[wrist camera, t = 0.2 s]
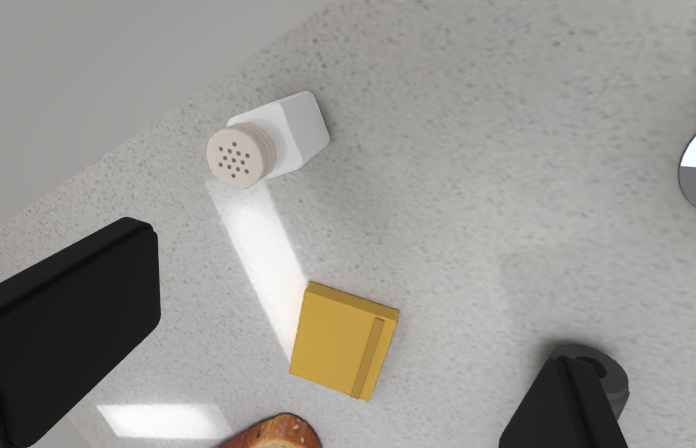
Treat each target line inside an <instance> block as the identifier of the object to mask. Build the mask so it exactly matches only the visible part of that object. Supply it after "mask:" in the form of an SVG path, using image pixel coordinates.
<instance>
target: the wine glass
mask: <svg viewBox="0 0 696 448" xmlns="http://www.w3.org/2000/svg"><path fill="white" fill-rule="evenodd" d="M678 176H679V184H680V187H681V190H682V192H683V194H684V195H685V197H686V198H687V200H688V201H689V202H690V203H691V204H692V205H694V206H695V207H696V135H695V136H694V137H693V139H692V140H691V141H690V143H689V144H688V146H687V147H686V149H685V151H684V153H683V155H682V158H681V161H680V165H679V173H678Z"/></svg>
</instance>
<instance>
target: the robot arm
mask: <svg viewBox="0 0 696 448" xmlns="http://www.w3.org/2000/svg"><path fill="white" fill-rule="evenodd" d="M160 317H161V307H160V283H159V259H158V237H157V234H156V232H154V231H153V227H152V226H151V225H150V224H149V223H146V222H143V221H140V220H136V219H133V218H130V217H124V218H121V219H119V220H117V221H115V222H113V223H111V224H110V225H108V226H106V227H104V228H102V229H100V230H98V231H96V232H95V233H93V234H91V235H89V236H87V237H85V238H83V239H81V240H80V241H78V242H76V243H74V244H72V245H70V246H68V247H66V248H65V249H63V250H61V251H59V252H57V253H55V254H53V255H51V256H50V257H48V258H46V259H44V260H42V261H40V262H38V263H36V264H35V265H33V266H31V267H29V268H27V269H25V270H23V271H22V272H20V273H18V274H16V275H14V276H12V277H10V278H8V279H7V280H5V281H3V282H1V283H0V448H27V447H30V446H31V445H33V444H34V443H36V442H37V441H38V440H39V439H41V438H42V437H43V436H44V435H45V434H46V433H47V432H48V431H49V430H50V429H51V428H52V427H53V426H54V425H55V424H56V423H57V422H58V421H59V420H60V419H61V418H62V417H63V416H64V415H66V414H67V413H68V412H69V411H70V410H71V409H72V408H73V407H74V406H75V405H76V404H77V403H78V402H79V401H80V400H81V399H82V398H83V397H84V396H85V395H86V394H87V393H88V392H90V391H91V390H92V389H93V388H94V387H95V386H96V385H97V384H98V383H99V382H100V381H101V380H102V379H103V378H104V377H105V376H106V375H107V374H108V373H109V372H110V371H111V370H112V369H113V368H115V367H116V366H117V365H118V364H119V363H120V362H121V361H122V360H123V359H124V358H125V357H126V356H127V355H128V354H129V353H130V352H131V351H132V350H133V349H134V348H135V347H136V346H137V345H139V344H140V343H141V342H142V341H143V340H144V339H145V338H146V337H147V336H148V335H149V334H150V333H151V332H152V331H153V330H154V329H155V328H156V326H157V325H158V323H159V321H160ZM499 448H628V446H627V444H626V441H625V439H624V437H623V434H622V432H621V429H620V427H619V425H618V422H617V420H616V418H615V415H614V413H613V410H612V408H611V406H610V403H609V401H608V398H607V396H606V394H605V391H604V389H603V387H602V384H601V382H600V379H599V377H598V375H597V372H596V370H595V368H594V367H593V365H591V364H590V363H587V362H584V361H581V360H577V359H574V358H571V357H568V356H565V355H560V356H558V357H557V358H556V360H555V359H548V360H547V361H546V363H545V364H544V366H543V367H542V369H541V371H540V372H539V374H538V376H537V377H536V379H535V381H534V382H533V384H532V386H531V387H530V389H529V391H528V392H527V394H526V395H525V397H524V399H523V400H522V402H521V404H520V405H519V407H518V409H517V410H516V412H515V414H514V415H513V417H512V418H511V420H510V422H509V423H508V425H507V427H506V428H505V430H504V432H503V433H502V435H501V438H500V441H499Z"/></svg>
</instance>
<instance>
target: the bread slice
mask: <svg viewBox="0 0 696 448" xmlns="http://www.w3.org/2000/svg"><path fill="white" fill-rule="evenodd" d="M220 448H322V447H321V446H320V443H319V440H318V438H317V437H316V435H315V433H314V432H313V430H312V429H311V428H310V427H309V426H308V425H307V423H306V422H304V421H302V420H301V419H299V418H297V417H295V416H293V415H290V414H282V415H278V416H277V417H276V418H272V419H269V420H267V421H264V422H260V423H259V424H258V425H256V426H254V427H251V428H250V429H249V430H248V431H246V432H244V433H242V434H241V435H239V436H238V437H236V438H234V439H232V440H231V441H229V442H227V443H226V444H224V445H223V446H221V447H220Z"/></svg>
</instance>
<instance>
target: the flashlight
mask: <svg viewBox="0 0 696 448" xmlns="http://www.w3.org/2000/svg"><path fill="white" fill-rule="evenodd" d="M560 355H565V356H568V357H571V358H574V359H577V360H581V361H584V362H587V363H590V364H591V365H593V367H594V368H595V370H596V372H597V375H598V377H599V379H600V382H601V384H602V387H603V389H604V391H605V394H606V396H607V398H608V401H609V403H610V406H611V408H612V410H613V413H614V415H615V418H616V420H617V421H618V419H619V417H620V415H621V413H622V411H623V408H624V406H625V404H626V402H627V400H628V398H629V390H628V389H629V387H628V377H627V374H626V373H625V371H624V370H623V368H622V367H621V366H620V365H619V364H618V363H617V362H616V361H614V360H613V359H612V358H610V357H609V356H607V355H606V354H604V353H602V352H600V351H598V350H595V349H593V348H590V347H587V346H583V345H576V344H568V345H563V346H560V347H559V348H557V350H556V351H555V353H553V354H551V355H550V356H549V358H548V359H555V360H556V358H557V357H558V356H560Z"/></svg>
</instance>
